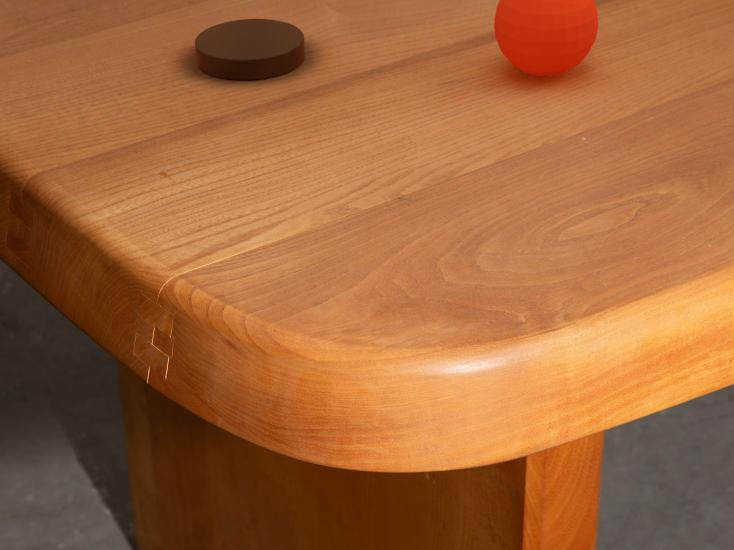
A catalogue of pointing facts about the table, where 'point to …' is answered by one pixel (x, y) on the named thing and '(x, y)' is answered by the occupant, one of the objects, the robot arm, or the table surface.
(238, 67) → the walnut disc
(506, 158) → the table surface
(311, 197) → the table surface
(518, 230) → the table surface
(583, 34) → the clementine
